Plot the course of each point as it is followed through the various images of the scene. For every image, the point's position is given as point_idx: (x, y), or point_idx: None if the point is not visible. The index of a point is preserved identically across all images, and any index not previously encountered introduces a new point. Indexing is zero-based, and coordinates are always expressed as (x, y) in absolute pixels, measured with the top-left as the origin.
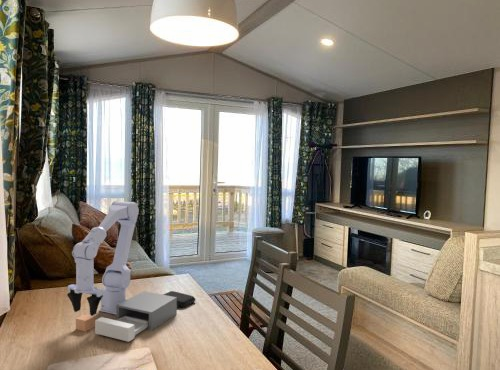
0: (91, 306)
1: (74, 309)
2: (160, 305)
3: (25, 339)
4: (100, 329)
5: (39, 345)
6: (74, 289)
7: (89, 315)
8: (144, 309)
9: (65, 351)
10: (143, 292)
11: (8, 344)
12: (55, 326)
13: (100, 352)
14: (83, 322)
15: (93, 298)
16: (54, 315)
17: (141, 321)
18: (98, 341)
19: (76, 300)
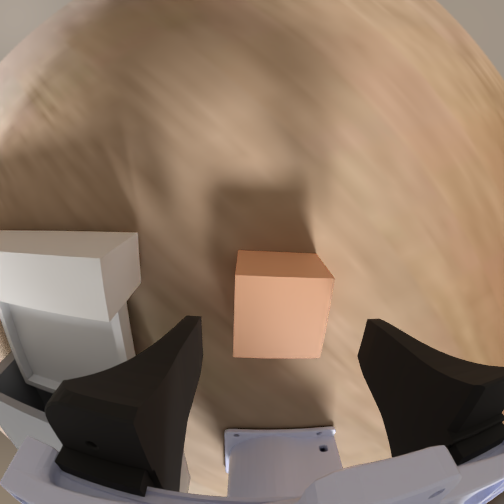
0: (141, 354)
1: (383, 324)
2: (14, 440)
3: (449, 78)
4: (85, 239)
5: (347, 34)
6: (477, 478)
7: (276, 351)
8: (8, 410)
9: (164, 34)
10: None
11: (460, 35)
12: (434, 236)
13: (25, 119)
14: (254, 270)
15: (46, 410)
16: (482, 317)
17: (56, 385)
18: (85, 187)
19: (406, 390)
